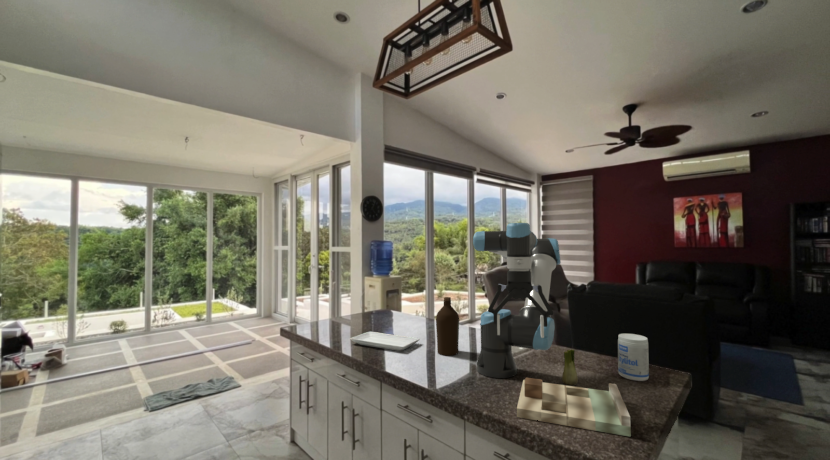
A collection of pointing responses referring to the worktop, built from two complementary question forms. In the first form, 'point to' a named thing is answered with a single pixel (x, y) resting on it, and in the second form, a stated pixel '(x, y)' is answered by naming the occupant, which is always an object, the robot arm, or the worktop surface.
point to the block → (533, 388)
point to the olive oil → (447, 329)
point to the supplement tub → (633, 357)
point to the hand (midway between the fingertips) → (520, 335)
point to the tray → (385, 340)
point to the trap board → (578, 408)
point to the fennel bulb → (569, 369)
